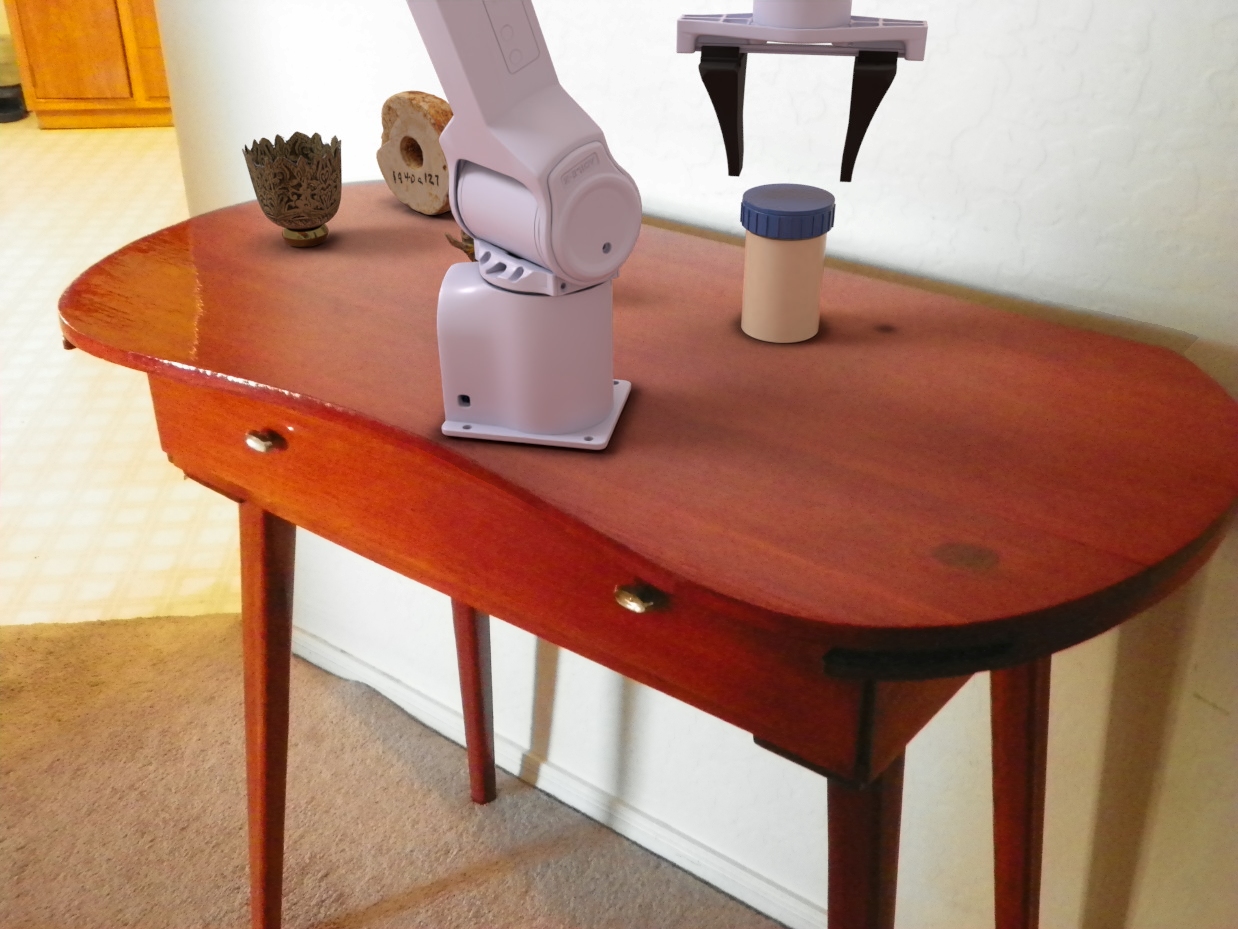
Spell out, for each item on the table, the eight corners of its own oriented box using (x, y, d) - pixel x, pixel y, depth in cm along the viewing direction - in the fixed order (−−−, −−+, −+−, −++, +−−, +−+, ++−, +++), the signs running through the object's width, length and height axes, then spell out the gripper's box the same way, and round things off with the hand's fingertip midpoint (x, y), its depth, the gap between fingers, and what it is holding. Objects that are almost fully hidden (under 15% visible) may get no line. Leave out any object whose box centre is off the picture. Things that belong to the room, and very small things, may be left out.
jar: (736, 339, 75) (743, 213, 71) (745, 309, 79) (751, 188, 75) (816, 345, 74) (827, 218, 70) (820, 314, 79) (831, 192, 74)
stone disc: (484, 217, 97) (476, 97, 92) (450, 227, 95) (439, 105, 90) (412, 191, 104) (401, 78, 99) (378, 200, 101) (365, 85, 96)
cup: (239, 246, 91) (221, 146, 87) (309, 221, 97) (295, 126, 92) (303, 264, 88) (287, 161, 84) (372, 237, 93) (360, 139, 89)
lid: (735, 236, 71) (736, 208, 70) (745, 207, 76) (746, 180, 75) (831, 242, 70) (834, 214, 69) (835, 212, 75) (837, 185, 74)
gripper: (935, -68, 67) (907, 162, 74) (690, -71, 69) (685, 152, 76) (940, -54, 61) (908, 195, 68) (672, -58, 63) (668, 182, 70)
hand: (790, 174), depth 72 cm, fingers open, 6 cm apart
